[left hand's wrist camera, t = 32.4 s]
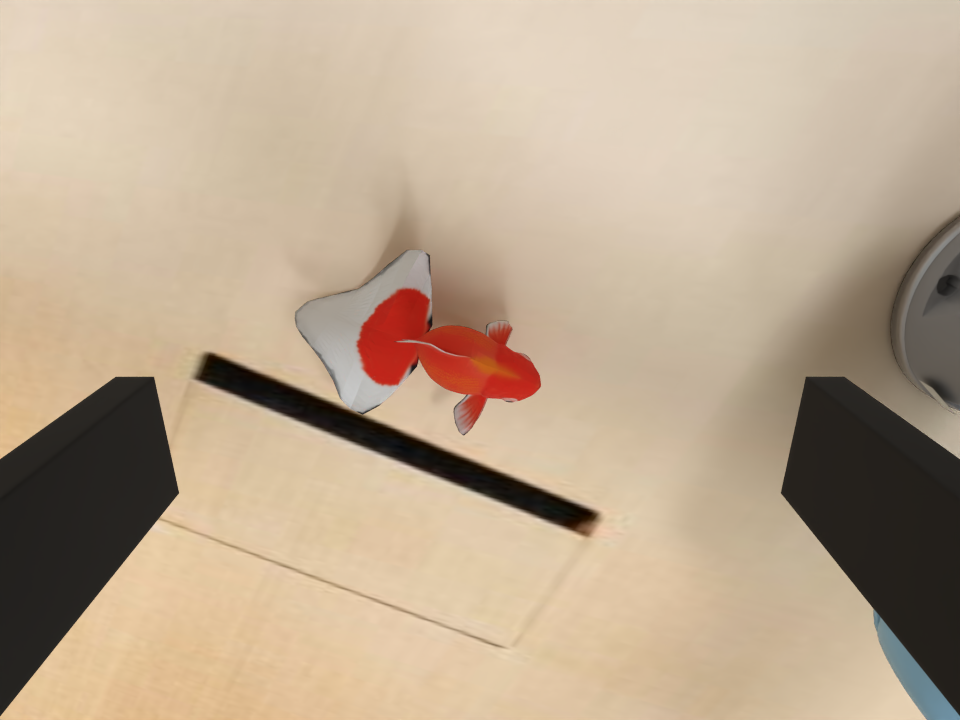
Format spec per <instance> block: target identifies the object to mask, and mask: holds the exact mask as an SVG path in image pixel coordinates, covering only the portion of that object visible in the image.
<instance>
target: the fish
mask: <svg viewBox="0 0 960 720" xmlns="http://www.w3.org/2000/svg"><path fill="white" fill-rule="evenodd" d="M295 322H296V327H297V328H298V330H299V332H300V333H301V335H302V337H303V338H304V339H305V340H306V341H307V343H308V344H309V345H310V346H311V347H312V349H313V350H314V351H315V353H316V354H317V355H318V357H319V358H320V359H321V361H322V362H323V364H324V365H325V367H326V369H327V371H328V372H329V374H330V376H331V377H332V379H333V381H334V384H335V386H336V389H337V391H338V394H339V397H340V399H341V400H342V401H343V402H344V403H345V404H346V405H347V406H348V407H349V408H350V409H352V410H354V411H356V412H358V413H361V414H365V413H366V412H368V411H370V410H372V409H374V408H376V407H378V406H379V405H380V404H381V403H383V402H384V401H385V400H386V399H387V398H389V397H390V396H391V395H392V394H393V393H394V392H395V390H396V389H397V388H398V387H399V386H400V385H401V384H402V383H403V382H404V381H405V379H406V378H407V377H408V376H409V375H410V374H411V373H412V371H413V370H414V369H415V368H416V367H417V364H418V359H419V360H420V362H421V364H422V366H423V367H424V369H425V370H426V372H427V374H428V375H429V376H430V378H431V379H433V380H434V381H435V382H436V383H437V384H439V385H440V386H442V387H444V388H445V389H448V390H450V391H453V392H457V393H461V394H467V395H466V396H465V398H464V399H463V400H462V401H460V402H459V403H458V404H457V405H456V406H455V408H454V418H455V423H456V426H457V428H458V430H459V432H460V433H461V434H462V435H465V434H466V433H467V432H468V431H469V430H470V429H471V428H472V427H473V425H474V424H475V422H476V421H477V419H478V418H479V416H480V414H481V412H482V410H483V408H484V406H485V404H486V401H487V398H497V399H502V400H504V401H506V402H515V401H520V400H523V399H525V398H527V397H530V396H531V395H533V394H534V393H535V392H536V391H537V390H538V389H539V388H540V387H541V381H540V375H539V373H538V372H537V370H536V368H535V367H534V365H533V363H532V362H531V360H530V358H529V357H528V356H527V355H525V354H523V353H517V352H514V351H512V350H511V349H509V348H508V347H507V346H506V343H507V341H508V339H509V336H510V334H511V331H512V327H511V326H510V325H509V323H508V321H496V322H492V323H489V324H487V326H486V335H485V334H483V333H481V332H478V331H476V330H473V329H470V328H467V327H462V326H443V327H439V328H436V329H433V330H431V331H429V330H430V328H431V327H432V285H431V274H430V255H428V254H427V253H426V252H424V251H423V250H406V251H405V252H404V253H403V254H401V255H400V256H399V257H397V258H396V259H395V260H394V261H392V262H391V263H390V264H388V265H387V266H386V267H385V268H384V269H383V270H382V271H381V272H379V273H378V274H377V275H376V276H375V277H374V278H373V279H371V280H370V281H368V282H367V283H366V284H364V285H363V286H362V287H360V288H359V289H356V290H351V291H347V292H343V293H339V294H335V295H332V296H327V297H323V298H318V299H315V300H311V301H308V302H306V303H305V304H304V305H303V306H302V307H301V308H299V309H298V310H297V311H296V312H295Z"/></svg>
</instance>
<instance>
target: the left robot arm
mask: <svg viewBox="0 0 960 720" xmlns="http://www.w3.org/2000/svg"><path fill="white" fill-rule="evenodd" d="M891 340H892V346H893V351H894V354H895V357H896V360H897V362H898V364H899V366H900V368H901V370H902V371H903V373H904V374H905V376H906V377H907V378H908V379H909V380H910V382H911V383H912V384H913V385H915V386H916V387H917V388H918V389H919V390H921V391H922V392H924V393H926V394H927V395H929V396H930V397H932V398H934V399H935V400H937V401H938V403H939V404H940V405H941V406H942V407H944V408H945V409H947V410H948V411H950V412H952V413H953V414H955V413H954V412H953V411H952V410H951V409H950V408H949V407H951V408H954V409H956V410H959V411H960V217H958V218H957V219H955V220H954V221H953V222H951V223H950V224H949V225H948V226H946V227H945V228H944V229H943V230H942V231H941V232H939V233H938V234H937V235H936V236H935V237H934V238H933V239H932V240H931V241H930V243H929V244H928V245H927V246H926V247H925V248H924V249H923V250H922V252H921V253H920V254H919V256H918V257H917V258H916V260H915V261H914V263H913V264H912V266H911V267H910V269H909V271H908V272H907V274H906V276H905V278H904V280H903V282H902V284H901V286H900V289H899V291H898V294H897V297H896V300H895V303H894V308H893V312H892V320H891ZM178 494H179V491H178V486H177V481H176V477H175V472H174V467H173V463H172V458H171V454H170V449H169V444H168V440H167V435H166V430H165V426H164V421H163V417H162V412H161V407H160V403H159V398H158V393H157V389H156V384H155V380H154V377H115V378H114V379H112V380H111V381H109V382H108V383H107V384H105V385H104V386H102V387H101V388H100V389H98V390H97V391H95V392H94V393H93V394H91V395H90V396H88V397H87V398H86V399H84V400H83V401H81V402H80V403H78V404H77V405H76V406H74V407H73V408H71V409H70V410H69V411H67V412H66V413H64V414H63V415H62V416H60V417H59V418H57V419H56V420H55V421H53V422H52V423H50V424H49V425H48V426H46V427H45V428H43V429H42V430H41V431H39V432H38V433H36V434H35V435H34V436H32V437H31V438H29V439H28V440H27V441H25V442H24V443H22V444H21V445H20V446H18V447H17V448H15V449H14V450H13V451H11V452H10V453H8V454H7V455H6V456H4V457H3V458H1V459H0V716H1V715H2V713H3V712H4V711H5V710H6V708H7V707H8V706H9V705H10V703H11V702H12V701H13V700H14V698H15V697H16V696H17V695H18V693H19V692H20V691H21V690H22V688H23V687H24V686H25V685H26V683H27V682H28V681H29V680H30V678H31V677H32V676H33V675H34V673H35V672H36V671H37V670H38V668H39V667H40V666H41V665H42V663H43V662H44V661H45V660H46V658H47V657H48V656H49V655H50V653H51V652H52V651H53V650H54V648H55V647H56V646H57V645H58V643H59V642H60V641H61V640H62V638H63V637H64V636H65V635H66V633H67V632H68V631H69V630H70V628H71V627H72V626H73V625H74V623H75V622H76V621H77V620H78V618H79V617H80V616H81V615H82V613H83V612H84V611H85V610H86V608H87V607H88V606H89V605H90V603H91V602H92V601H93V600H94V599H95V597H96V596H97V595H98V594H99V592H100V591H101V590H102V589H103V587H104V586H105V585H106V584H107V582H108V581H109V580H110V579H111V577H112V576H113V575H114V574H115V572H116V571H117V570H118V569H119V567H120V566H121V565H122V564H123V562H124V561H125V560H126V559H127V557H128V556H129V555H130V554H131V552H132V551H133V550H134V549H135V547H136V546H137V545H138V544H139V542H140V541H141V540H142V539H143V537H144V536H145V535H146V534H147V532H148V531H149V530H150V529H151V527H152V526H153V525H154V524H155V522H156V521H157V520H158V519H159V517H160V516H161V515H162V514H163V512H164V511H165V510H166V509H167V507H168V506H169V505H170V504H171V502H172V501H173V500H174V499H175V497H176V496H177V495H178ZM781 494H782V495H783V496H784V497H785V499H786V500H787V501H788V502H789V504H790V505H791V506H792V507H793V509H794V510H795V511H796V512H797V514H798V515H799V516H800V517H801V519H802V520H803V521H804V522H805V524H806V525H807V526H808V527H809V529H810V530H811V531H812V532H813V534H814V535H815V536H816V537H817V539H818V540H819V541H820V542H821V544H822V545H823V546H824V547H825V549H826V550H827V551H828V552H829V554H830V555H831V556H832V557H833V559H834V560H835V561H836V562H837V564H838V565H839V566H840V567H841V569H842V570H843V571H844V572H845V574H846V575H847V576H848V577H849V579H850V580H851V581H852V582H853V584H854V585H855V586H856V587H857V589H858V590H859V591H860V592H861V594H862V595H863V596H864V597H865V599H866V600H867V601H868V602H869V603H870V605H871V606H872V607H873V608H874V611H873V615H874V624H875V628H876V630H877V635H878V638H879V642H880V645H881V647H882V649H883V652H884V654H885V656H886V658H887V660H888V662H889V664H890V666H891V667H892V669H893V671H894V673H895V674H896V676H897V678H898V679H899V681H900V682H901V684H902V686H903V687H904V689H905V690H906V692H907V693H908V695H909V696H910V697H911V699H912V700H913V702H914V703H915V705H916V706H917V707H918V709H919V710H920V711H921V713H922V714H923V715H924V717H925V718H926V719H927V720H960V459H959V458H957V457H956V456H954V455H953V454H952V453H950V452H949V451H947V450H946V449H945V448H943V447H942V446H940V445H939V444H938V443H936V442H935V441H933V440H932V439H931V438H929V437H928V436H926V435H925V434H924V433H922V432H921V431H919V430H918V429H917V428H915V427H914V426H912V425H911V424H910V423H908V422H907V421H905V420H904V419H903V418H901V417H900V416H898V415H897V414H896V413H894V412H893V411H891V410H890V409H889V408H887V407H886V406H884V405H883V404H882V403H880V402H879V401H877V400H876V399H874V398H873V397H872V396H870V395H869V394H867V393H866V392H865V391H863V390H862V389H860V388H859V387H858V386H856V385H855V384H853V383H852V382H851V381H849V380H848V379H846V378H845V377H806V380H805V384H804V389H803V393H802V398H801V403H800V407H799V412H798V417H797V421H796V426H795V430H794V435H793V440H792V444H791V449H790V454H789V458H788V463H787V467H786V472H785V477H784V481H783V486H782V491H781Z"/></svg>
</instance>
